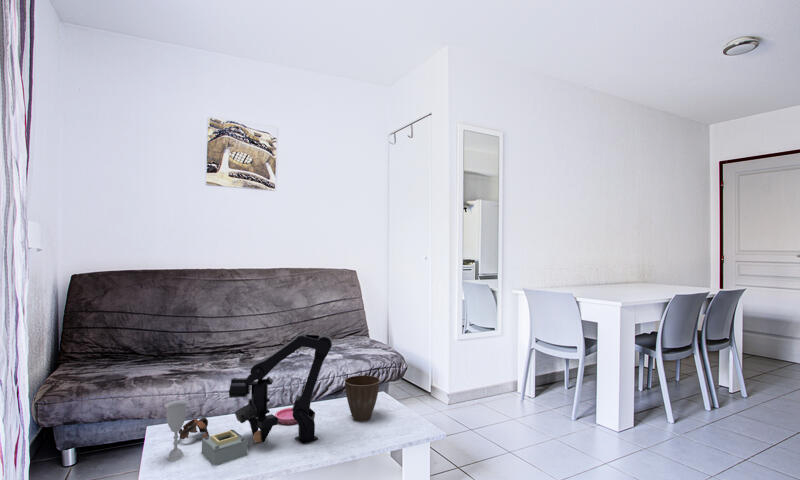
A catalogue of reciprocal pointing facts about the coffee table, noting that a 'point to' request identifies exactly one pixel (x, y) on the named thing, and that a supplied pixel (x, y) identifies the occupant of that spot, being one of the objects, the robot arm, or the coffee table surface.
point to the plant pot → (362, 395)
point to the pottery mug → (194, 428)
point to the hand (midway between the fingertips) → (258, 439)
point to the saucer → (286, 416)
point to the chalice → (176, 424)
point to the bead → (257, 436)
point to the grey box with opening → (224, 447)
